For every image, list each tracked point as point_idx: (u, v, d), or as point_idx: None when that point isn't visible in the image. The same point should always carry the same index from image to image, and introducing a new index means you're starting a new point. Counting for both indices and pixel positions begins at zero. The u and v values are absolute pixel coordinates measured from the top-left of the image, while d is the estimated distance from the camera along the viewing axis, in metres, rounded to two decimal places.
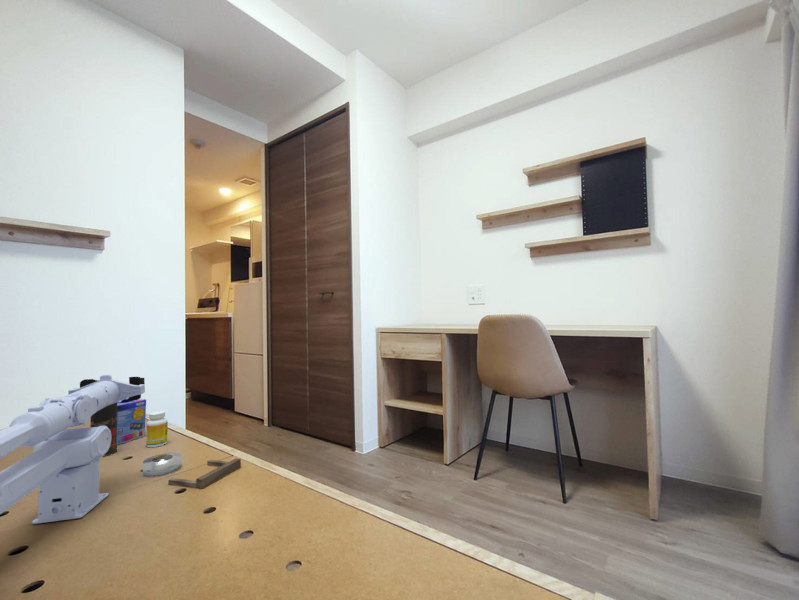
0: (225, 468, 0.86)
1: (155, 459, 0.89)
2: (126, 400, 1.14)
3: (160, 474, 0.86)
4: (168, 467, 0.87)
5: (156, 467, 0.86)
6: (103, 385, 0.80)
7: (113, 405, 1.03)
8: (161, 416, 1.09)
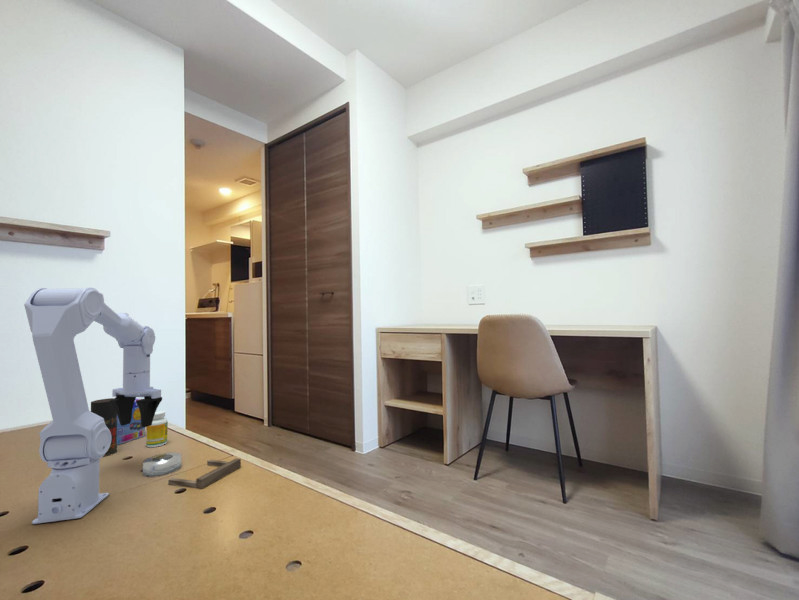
0: (225, 468, 0.86)
1: (155, 459, 0.89)
2: None
3: (160, 474, 0.86)
4: (167, 467, 0.87)
5: (156, 467, 0.86)
6: None
7: None
8: (161, 416, 1.09)
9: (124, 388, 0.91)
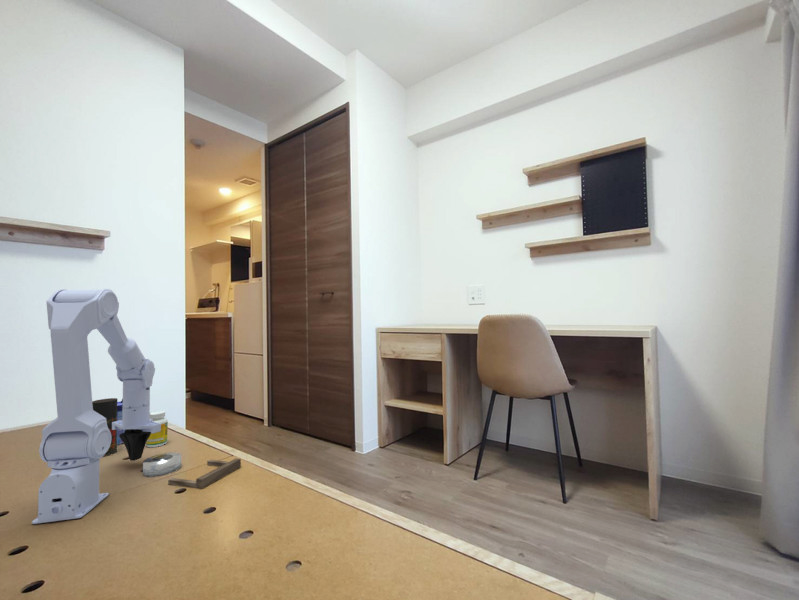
0: (225, 468, 0.86)
1: (155, 459, 0.89)
2: None
3: (159, 474, 0.86)
4: (167, 467, 0.87)
5: (155, 466, 0.86)
6: (149, 407, 0.95)
7: (113, 405, 1.03)
8: (161, 416, 1.09)
9: (124, 422, 0.91)
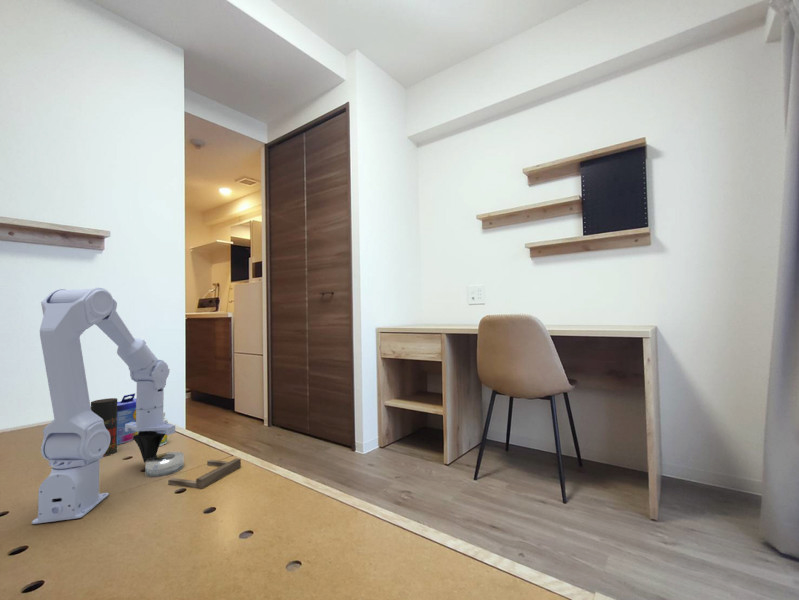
0: (225, 468, 0.86)
1: (157, 459, 0.89)
2: (126, 400, 1.14)
3: (161, 473, 0.86)
4: (169, 467, 0.87)
5: (157, 466, 0.86)
6: None
7: (113, 405, 1.03)
8: None
9: (138, 424, 0.89)
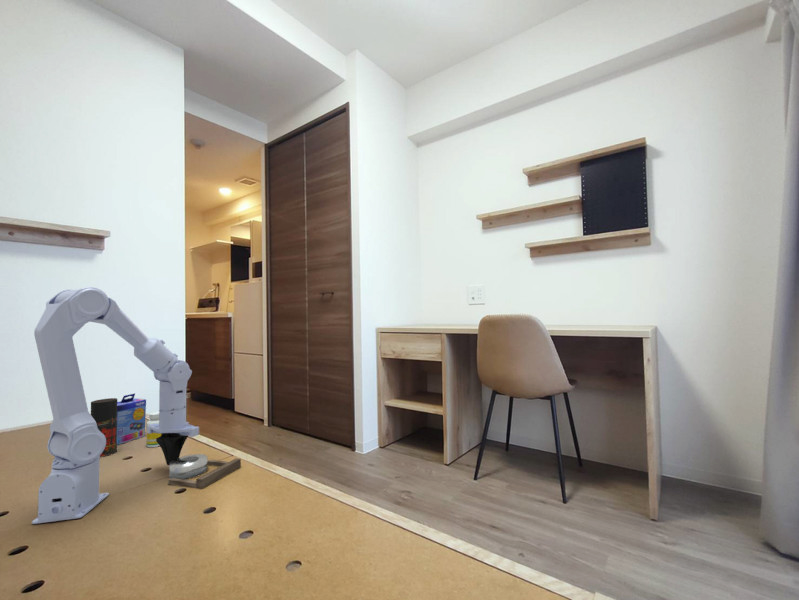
0: (225, 468, 0.86)
1: (181, 461, 0.87)
2: (126, 400, 1.14)
3: (187, 476, 0.84)
4: (194, 469, 0.85)
5: (183, 469, 0.84)
6: None
7: (113, 405, 1.03)
8: None
9: (161, 426, 0.87)
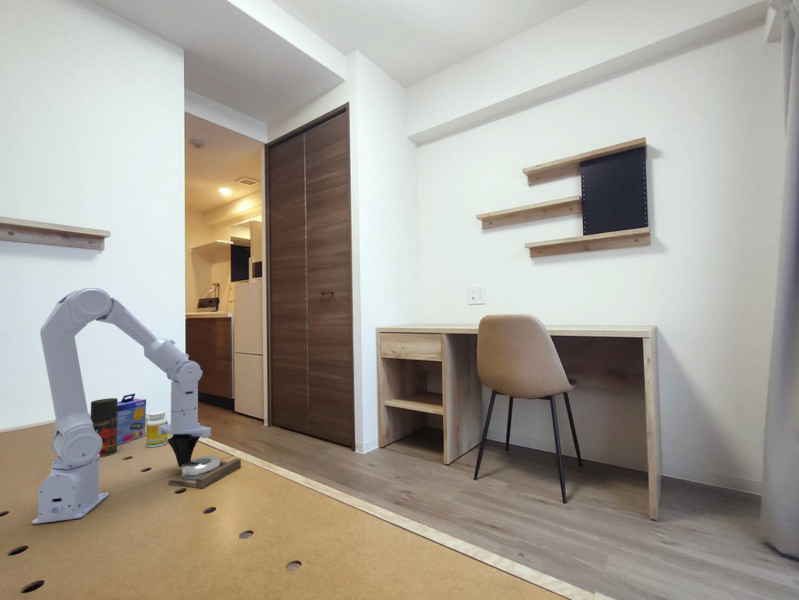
0: (225, 468, 0.86)
1: (194, 463, 0.86)
2: (126, 400, 1.14)
3: None
4: (208, 471, 0.84)
5: (196, 471, 0.83)
6: None
7: (114, 405, 1.03)
8: (161, 416, 1.09)
9: (173, 427, 0.86)
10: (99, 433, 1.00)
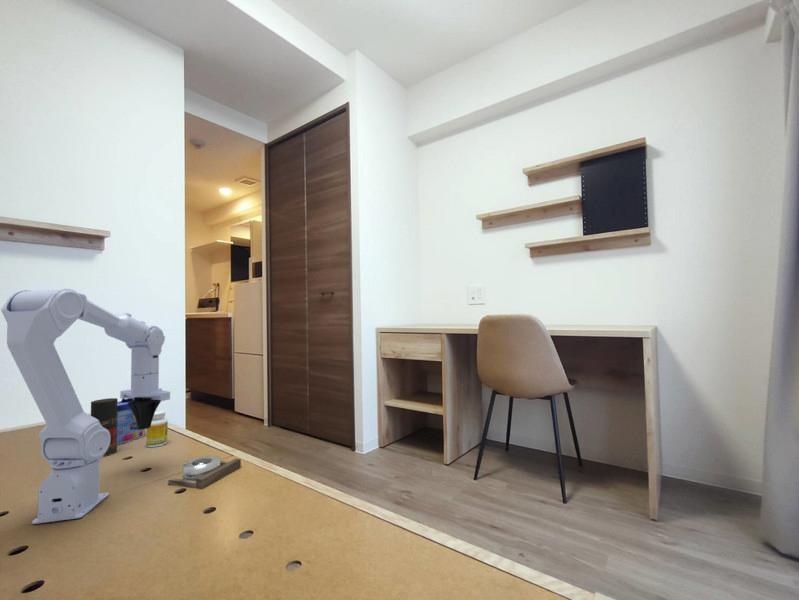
0: (225, 468, 0.86)
1: (194, 463, 0.86)
2: (126, 400, 1.14)
3: None
4: (208, 471, 0.84)
5: (197, 471, 0.83)
6: (158, 376, 0.93)
7: (114, 405, 1.03)
8: (161, 416, 1.09)
9: (132, 390, 0.88)
10: None
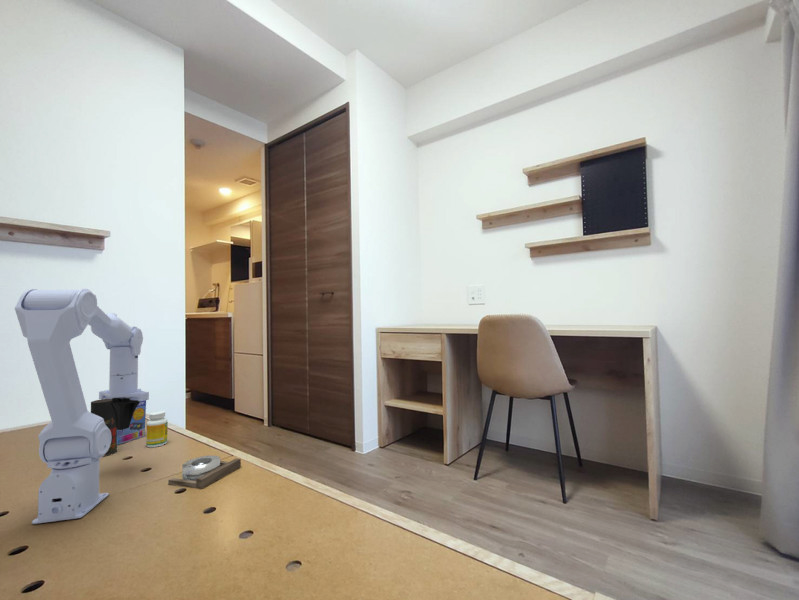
0: (225, 468, 0.86)
1: (194, 463, 0.86)
2: None
3: None
4: (208, 471, 0.84)
5: (196, 471, 0.83)
6: (137, 376, 0.93)
7: None
8: (161, 416, 1.09)
9: (110, 390, 0.88)
10: None
